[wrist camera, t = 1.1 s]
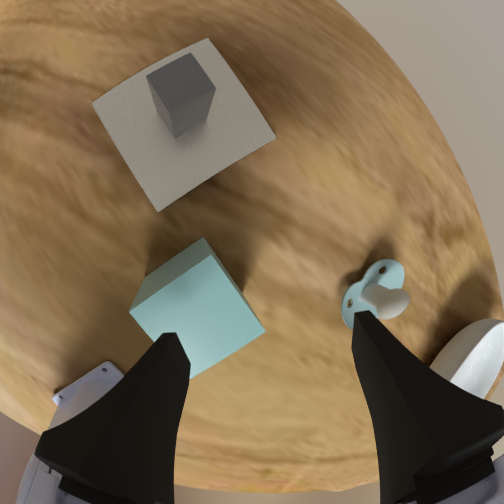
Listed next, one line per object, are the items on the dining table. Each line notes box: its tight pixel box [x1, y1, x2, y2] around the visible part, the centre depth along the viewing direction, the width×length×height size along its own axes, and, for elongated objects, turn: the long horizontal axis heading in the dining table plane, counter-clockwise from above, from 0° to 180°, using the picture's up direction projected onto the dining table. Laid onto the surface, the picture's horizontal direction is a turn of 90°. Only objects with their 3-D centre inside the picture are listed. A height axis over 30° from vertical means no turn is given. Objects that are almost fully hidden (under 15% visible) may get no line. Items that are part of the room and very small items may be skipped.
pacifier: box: [341, 259, 410, 329], centre depth 22 cm, size 7×6×6 cm
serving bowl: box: [429, 319, 504, 399], centre depth 29 cm, size 21×21×7 cm
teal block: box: [129, 236, 266, 379], centre depth 18 cm, size 5×5×7 cm
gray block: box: [92, 38, 276, 212], centre depth 15 cm, size 10×10×7 cm
